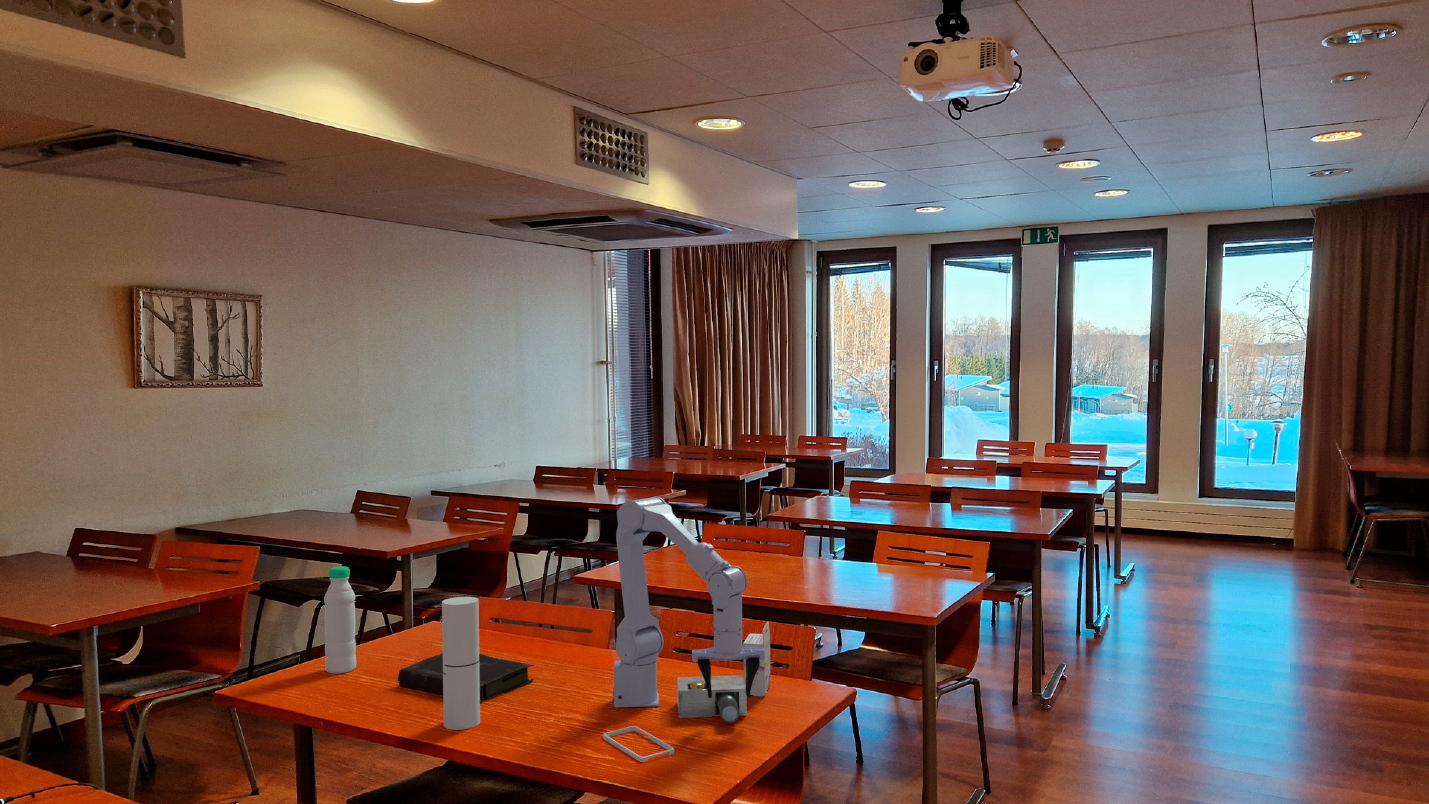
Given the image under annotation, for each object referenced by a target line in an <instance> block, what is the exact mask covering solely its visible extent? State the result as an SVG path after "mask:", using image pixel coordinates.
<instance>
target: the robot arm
mask: <svg viewBox="0 0 1429 804" xmlns="http://www.w3.org/2000/svg"><path fill="white" fill-rule="evenodd" d="M616 517H617V518H616V519H617V529H616V534H615V537H616V539H615V540H616V546H617V557H618V558H617V559H618V566H619V567H618V568H619V575H620V584H621V585H620V586H621V594H622V595H621V596H622V602H623V603H622V604H623V612H624V617H623V619H622V620H621V622H620V623H619V625H618V626H617V627H616V634H617V635H616V640H615V647H614V648H615V652H616V655H617V656H618V659H619V660H615V661H614V663H613V687H612V696H613V701H614V702H613V707H614V708H634V707H635V708H637V707H639V708H641V707H645V708H646V707H659V706H660V694H659V692H658V684H657V683H658V679H657V678H658V674H657V673H658V672H657V671H658V669H657V664H658V663H657V659H658V658H659V653H660V652H661V651H662V649H663V647H664V644H665V643H664V640H665V639H664V636H663V633H662V631H661V629H660V625H659V620H658V618H656V617H655V616H653V615H652V614H651V611H650V601H649V592H648V591H649V590H648V583H647V575H646V574H647V573H646V564H645V556H644V547H643V541H644V540H645V539H646V537H647V536H648V535H649V534H650V533H651V532H661V534H663V535H664V536H665V537H666V538H667V539H668V540H669V541H670V542H672V543H673V544H674V545H675V547H677V548H679V550H681V551H682V552H683V553H684V554H685V555H686V563H687V564H688V565H689V566H690V567H691V568H692V569H693V571H695V573H697V575H698V576H699V577H701V579H702V580H703V581H704V582H705V583H706V588H707V591H708V593H709V595H710V597H711V605H713V647H709V648H702V649H692V650H691V658H692V663H697V665H698V669H699V670H700V673H701V675H702V677H703V678H704V680H705V683H706V686H707V691H708V698H712V689H711V676H712V667H711V661H734V660H737V661H738V660H743V661H744V659H745V660H746V688H745V689H746V698H747V697H751V696H750V692H751V687H752V683H753V680H754V677H755V675H756V673H757V670H758V669H759V666H760V662H759V660H765V650H764V648H751V647H743V593H744V592H745V591H746V589H747V587H748V578H747V575H746V573H745V572H744V571H743V569H742V567H740V566H738V565H731V564H730V562H728V560H725V559H724V558H722V557H721V555H719V554H718V552H717V551H715V550H714V549H715V547H714V545H712V544H711V543H707V542H698V541H697V539H696V538H695V537H694V536H693V535H692V534H691V533H690V532H689V530H688V529H687V528H686V527H685V526H684V524H682V523H681V521H680V520H679V519H678V518H677V517H676V516H675V514H674V513H673V509H672V506H671V505H669V504H668V503H667V502H666V500H664V499H663V498H662V497H660V496H652V497H648V498H641V499H635V500H633V499H632V500H630V499H629V500H626V501H624V502H623V504H622V505H620V507H619V508H618V510H617V511H616Z"/></svg>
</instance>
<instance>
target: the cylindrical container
mask: <svg viewBox="0 0 1429 804" xmlns="http://www.w3.org/2000/svg"><path fill="white" fill-rule="evenodd" d="M479 610H480V609H479V598H478V597H474V596H456V597H449V598H446V599H444V600H442V601H441V621H442V622H441V623H442V624H441V625H442V626H441V627H442V628H441V629H442V632H441V633H442V653H443V696H442V697H443V699H442V701H443V702H442V704H443V707H442V708H443V709H442V711H443V712H442V713H443V728H445V729H447V730H451V731H452V730H453V731H454V730H455V731H458V730H460V731H461V730H468V729H471V728H475V727H477V726H478V725H479V724H480V723H481V704H480V682H479V653H480V630H479V629H480V625H479V623H480V621H479V619H480V617H479V615H480V612H479Z"/></svg>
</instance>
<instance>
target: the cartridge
mask: <svg viewBox="0 0 1429 804" xmlns="http://www.w3.org/2000/svg"><path fill="white" fill-rule="evenodd" d="M716 697H717V702H718V707H719V712H720V716H721V717H720V718H721V720H722V721H723V722H725V723H728V724H732V723H735V722H736V721H737V720H738V718H739V717H740V716H739V710H738V706H737V702H736V699H735V695H734V692H717V693H716Z"/></svg>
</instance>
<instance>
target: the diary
mask: <svg viewBox="0 0 1429 804" xmlns="http://www.w3.org/2000/svg"><path fill="white" fill-rule="evenodd" d="M531 667H534V665H533V664H530V663H525V662H521V661H520V662H519V661H513V660H509V659H508V660H507V659H504V658H498V657H493V656H489V655H486V654H482V653H480V652H479V682H480V705H481V704H482V701H484V702H487V700H488V699H490V698H493V697H495V696H498V695H500V694H507V693H510V692H512V691H515V690H517V689H520V688H522V687H525V686H527V685H530V684H531V683H533V681H534V678H531V679H529V675H528V674H529V669H528V668H531ZM397 683H398V686H399V687H401V688H405V689H410V690H414V691H419V692H424V693H427V694H433V695H436V696H437V695H438V696H442V697H443V652H442V653H438V654H436V655H433V656H430V657H427V658H425V659H423V660H420V661H418V662H416V663H412V664H411V665H408V666H405V667H402V668H400V669H399V671H398V676H397Z"/></svg>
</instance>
